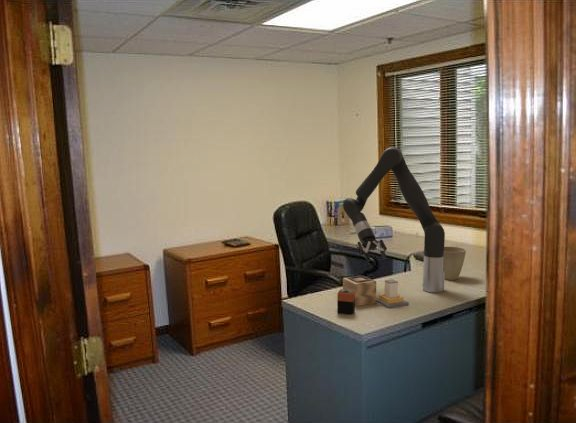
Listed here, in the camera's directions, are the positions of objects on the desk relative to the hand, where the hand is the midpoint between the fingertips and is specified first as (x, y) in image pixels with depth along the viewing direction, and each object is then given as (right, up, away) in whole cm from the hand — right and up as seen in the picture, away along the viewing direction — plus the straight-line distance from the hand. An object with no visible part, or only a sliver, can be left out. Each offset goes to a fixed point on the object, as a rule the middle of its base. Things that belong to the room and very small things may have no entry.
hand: (377, 260), depth 229 cm
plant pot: (+45, -13, +32) cm, 57 cm away
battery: (-17, -21, -21) cm, 34 cm away
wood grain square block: (-9, -18, -5) cm, 21 cm away
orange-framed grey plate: (+5, -19, -8) cm, 21 cm away
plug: (+5, -17, -9) cm, 20 cm away
